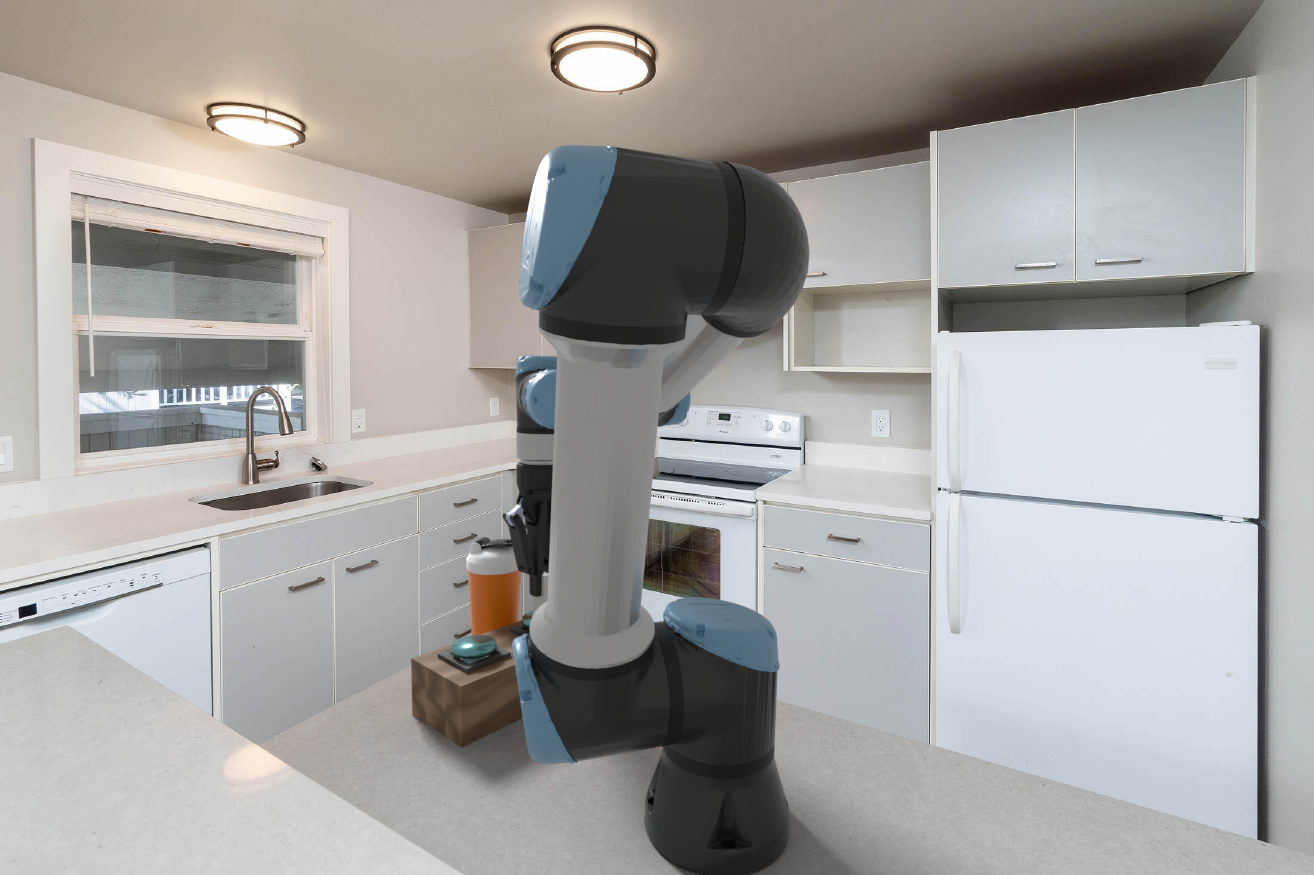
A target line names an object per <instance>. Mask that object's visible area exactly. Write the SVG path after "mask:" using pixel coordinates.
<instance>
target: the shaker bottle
mask: <svg viewBox="0 0 1314 875" xmlns="http://www.w3.org/2000/svg"><path fill="white" fill-rule="evenodd" d="M465 561H466V562H465V563H466V570H465V571H466V572H467V579H468V593H469V611H470V626H471V627H470V628H471V629H470V630H471V636H472V635H480V634H483V633H486V632H489V631H492V630H495V629H498V628H501V627H503V626H506V625H509V624H512V623H515V622H518V621H520V602H521V601H520V600H521V582H522V581H521V577H522V572H520V571H518V569H517V564H516V559H515V555H514V550H513V545H512V541H511V538H499V539H498V538H497V539H490V538H489V537H487V536H483V537H480V538H479V539H477V540H476V541H473V542H471V544H470V545H469V553H468V555H467V556H466V559H465Z"/></svg>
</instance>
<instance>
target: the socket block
mask: <svg viewBox="0 0 1314 875" xmlns="http://www.w3.org/2000/svg"><path fill="white" fill-rule="evenodd" d="M523 634H530V632H529V628H527V627H525V626H523V624H522V619H521V620H519V621H518V622H515V623H512V624H509V625H506V626H503V627H501V628H498V629H495V630H492V631H489V632H486V633H483V634H480V635H486V636H491V637H493V638H495V639H496V641H497V649H496V651H495V652H493V653H492V654H490V655H489V656H488V657H486V658H483V659H481V660H478V661H475V662H473V663H470V664H469V663H467V662H465V661H463V660H461V659H459V658H458V657H455V656H454V655H453V654H452V652H451V645H452V643H451V644H448V645H445V646H443V647H440V648H437V649H435V650H431V651H428V652H425V653H423V654H419V655H417V656H414V657H411V658H410V663H411V664H410V672H411V710H412V716H415V717H416V718H417V719H419V720H421V722H423V723H424V724H426V725H428V726H429V727H431V728H432V729H433V730H435V731H437V732H438V733H440V734H441V735H442V736H444V737H445V738H447V739H448V740H450V741H451V742H453V743H454V744H456V745H457V746H459V747H461V748H463V747H465V746H468V745H469V744H470V745H471V744H472V743H473V742H476V741H479V740H480V739H482V738H484V737H486V736H487V735H488V736H489V735H490V734H493V733H495V732H496V731H499V730H500V729H502V728H504V727H507V726H509V725H510V724H513V723H515V722H516V721H519V720H521V719H523V717H522V710H521V703H520V696H519V689H518V682H517V675H516V668H515V661H514V654H513V647H512V643H513V640H514V639H515V638H517V637H520V636H522V635H523Z"/></svg>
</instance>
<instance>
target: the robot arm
mask: <svg viewBox="0 0 1314 875" xmlns="http://www.w3.org/2000/svg"><path fill="white" fill-rule="evenodd" d="M535 175H536V176H535V178H534V182H533V185H532V189H531V194H530V198H529V202H528V208H527V213H526V218H525V225H524V230H523V239H522V244H521V253H520V273H519V281H518V282H519V283H518V286H519V287H518V288H519V290H518V291H519V293H518V294H519V298H520V301H521V303H522V305H523V306H525V307H527V308H530V309H531V310H533V311H534V310H536V311H538V332H539V333H540V334H541V335H542V336H543V338H544V339H545V340H546V341H547V342H548V343H549V344H550V345H551V346H552V348H554V350H555V351H556V356H554V355H523V356H520V357H518V358H517V360H516V369H515V370H516V371H515V377H514V382H515V391H516V392H515V397H516V398H515V399H516V400H515V401H516V402H515V403H516V404H515V405H516V406H515V407H516V435H515V436H516V439H515V440H516V458H517V459H518V460H520V461H518V462H517V464H516V469H515V470H516V476H515V477H516V482H515V483H516V486H517V489H518V496H517V498H516V502H515V503H516V505H515V506H514V507H513V508H512V509H511V510H510V511H504V512H503V513H502V519H503V520H504V522H505V524H506V525H507V527H508V532H509V536H510V539H511V541H512V545H513V550H514V555H515V559H516V564H517V569H518V571H520V572H521V573H523V574H526V575H528V576H529V579H528V580H529V583H528V584H529V587H528V588H529V595H530V596H531V597H532V611H533V616H532V619H531V622H530V634H523V635H522V636H520V637H517V638H515V639H514V640H513V643H512V647H513V654H514V661H515V668H516V675H517V682H518V689H519V696H520V703H521V710H522V717H523V718H522V723H523V730H524V736H525V737H524V738H525V744H526V750H527V753H528V755H529V757H530V759H532V760H533V761H534V762H536V763H538V764H540V765H544V766H545V765H553V764H557V765H558V764H568V763H569V764H574V763H575V764H577V763H578V762H582V761H589V760H592V759H593V760H594V759H599V758H603V757H611V756H614V755H615V756H616V755H621V754H627V753H633V752H638V751H639V752H640V751H643V750H644V751H645V750H649V749H655V748H660V747H661V748H662V749H661V752H660V755H659V758H658V760H657V764H656V766H655V769H654V771H653V774H652V776H651V780H650V783H649V785H648V788H647V791H646V795H645V801H644V802H645V803H644V828H645V831H646V835H647V837H648V838H649V841H650V842H651V844H652V845H653V846H654V848H656V850H657V851H658V852H659V853H660V854H661V855H662V856H664V857H665V858H666V859H668V860H669V861H670V862H671V863H673V864H675V865H677V866H679V867H681V868H683V869H686V870H689V871H691V872H694V873H698V874H701V875H702V874H703V875H747V874H751V873H753V872H757V871H759V870H762V869H764V868H766V867H768V866H769V865H771V864H773V862H775V861H776V860H777V859H778V858H779V857H780V856H781V854H783V852H784V850H785V849H786V848H787V843H788V841H789V835H790V808H789V804H788V800H787V798H786V795H785V792H784V791H785V790H784V787H783V784H782V781H781V777H780V774H779V773H780V772H779V769H778V766H777V763H776V760H775V749H776V748H775V746H776V745H775V744H776V740H775V739H776V723H777V722H776V720H777V719H776V718H777V692H778V691H777V690H778V671H779V670H780V661H779V647H778V645H779V644H778V634H777V632H776V629H775V627H774V626H773V624H772V623H771V621H770V620H769V619H768V618H767V617H765V616H764V615H762V614H761V613H760V612H758V611H756V610H754V609H752V608H749V607H747V606H744V605H741V604H739V603H735V602H732V601H727V600H722V599H718V598H710V597H697V596H696V597H693V596H691V597H682V598H677V599H676V600H672V601H670V602H669V603H667V605H666V607H665V608H664V611H663V613H662V618H663V620H661V621H654V620H653V617H652V615H651V614H650V612H649V611H648V610H647V609H646V608H645V607H644V606H643V605H642V597H643V596H642V595H643V589H644V588H643V586H644V577H645V576H644V574H645V565H646V555H647V542H648V533H649V524H650V513H651V512H650V511H651V500H652V491H653V479H654V471H655V470H654V469H655V468H654V467H655V458H656V447H657V436H658V428H661V427H665V426H675V425H680V424H682V423H683V422H684V421H685V420H686V419H687V416H688V413H689V411H690V408H691V391H692V390H693V389H694V388H695V387H696V386H697V385H699V384H700V383H702V382H701V381H703V380H704V379H705V378H706V377H707V376H708V375H710V373H711V372H712V371H713V370H714V369H716V367H718V365H720V363H721V362H723V361H724V360H725V359H726V357H728V356H729V355H730V354H731V353H732V352H733V351H734V350H735V349H736V348H737V347H738V346H739V345H740V344H741V343H743V341H745V340H750V339H756V338H757V337H761V336H762V335H764V334H766V333H767V332H769V331H770V330H771V329H773V327H775V326H776V325H777V323H779V322H780V321H781V320H782V319H783V318H784V317H785V316H786V315H787V314H788V313H789V311H790V310H791V309H792V308H793V307H794V305H795V303H796V302H797V300H798V299H799V297H800V294H801V292H802V290H803V289H804V286H805V282H806V280H807V276H808V273H809V266H810V265H809V263H810V244H809V236H808V232H807V229H806V225H805V222H804V220H803V216H802V214H801V212H800V210H799V208H798V206H797V205H796V203H795V200H794V199H793V198H792V196H791V195H790V194H789V193H788V192H787V191H786V189H784V188H783V187H782V186H781V185H780V184H779V183H778V182H777V181H776V180H774V179H773V178H772V177H771V176H769V175H768V174H766V173H765V172H762V171H760V170H758V169H756V168H755V167H752V166H748V165H746V164H742V163H737V162H731V161H730V162H729V161H721V162H719V161H711V160H704V159H698V158H691V157H684V156H679V155H678V156H677V155H671V154H664V153H659V152H651V151H645V150H637V149H632V148H623V147H619V146H618V147H617V146H611V145H605V146H604V145H578V144H577V145H573V144H565V145H559V146H557V147H555V148H552V150H550V151H549V152H547V153H546V155H545V156H544V158H543V159H542V161H541V163H540V165H539V166H538V170H537V171H536V174H535Z"/></svg>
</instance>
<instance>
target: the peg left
mask: <svg viewBox="0 0 1314 875" xmlns="http://www.w3.org/2000/svg"><path fill="white" fill-rule="evenodd" d="M451 644H452V645H451ZM451 644H450V645H451V652H452V654H453V655H454V656H455V657H458V658H459V659H461V660H463V661H465V662H467V663H469V664H470V663H473V662H475V661H478V660H481V659H483V658H486V657H488V656H489V655H490V654H492V653H493V652H495V651H496V649H497V641H496V639H495V638H493V637H491V636H486V635H472V634H471V635H469V636H468V635H467V636H464V637H460V638H458V639H456V640H455V641H453V642H452V643H451Z"/></svg>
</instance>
